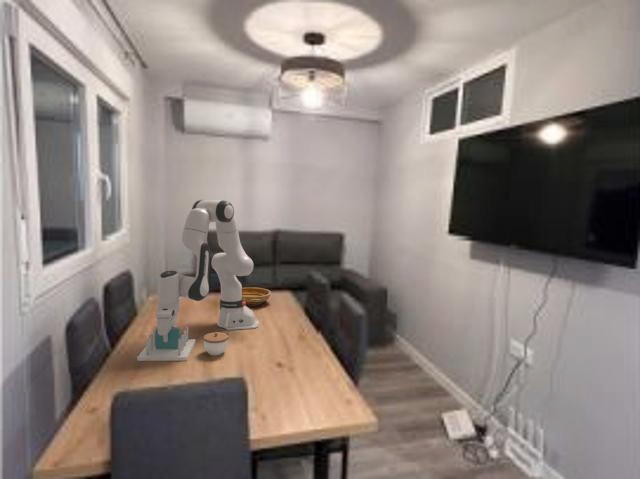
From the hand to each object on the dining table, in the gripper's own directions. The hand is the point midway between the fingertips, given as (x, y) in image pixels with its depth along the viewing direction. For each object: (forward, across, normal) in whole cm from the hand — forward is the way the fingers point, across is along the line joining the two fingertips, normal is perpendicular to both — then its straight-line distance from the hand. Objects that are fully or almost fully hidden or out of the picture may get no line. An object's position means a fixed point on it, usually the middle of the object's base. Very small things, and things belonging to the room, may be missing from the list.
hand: (168, 337), depth 172 cm
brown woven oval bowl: (+6, -76, +34) cm, 84 cm away
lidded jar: (+6, +2, +21) cm, 22 cm away
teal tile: (+5, 0, 0) cm, 5 cm away
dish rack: (+6, 0, 0) cm, 6 cm away
